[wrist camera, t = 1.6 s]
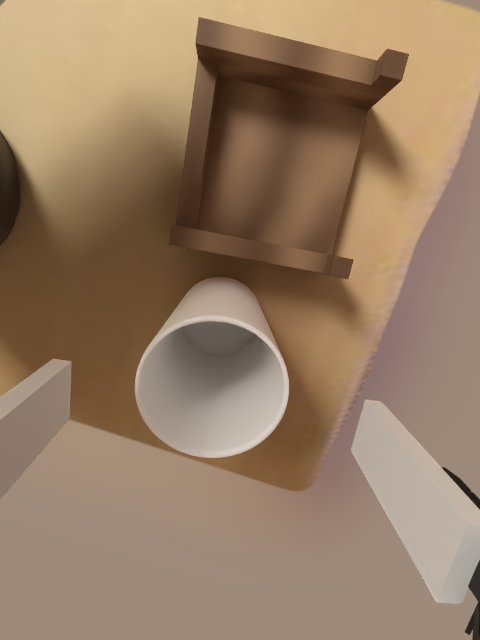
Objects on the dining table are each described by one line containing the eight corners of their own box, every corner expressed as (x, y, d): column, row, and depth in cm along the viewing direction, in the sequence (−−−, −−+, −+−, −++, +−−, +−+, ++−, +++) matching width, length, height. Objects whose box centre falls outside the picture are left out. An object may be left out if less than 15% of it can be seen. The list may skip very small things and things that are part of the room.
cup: (262, 353, 34) (291, 453, 18) (183, 358, 34) (144, 464, 18) (259, 273, 32) (288, 311, 16) (174, 279, 32) (122, 322, 16)
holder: (179, 242, 31) (165, 244, 24) (204, 59, 27) (196, 1, 20) (322, 269, 32) (348, 279, 25) (365, 97, 28) (409, 54, 21)
